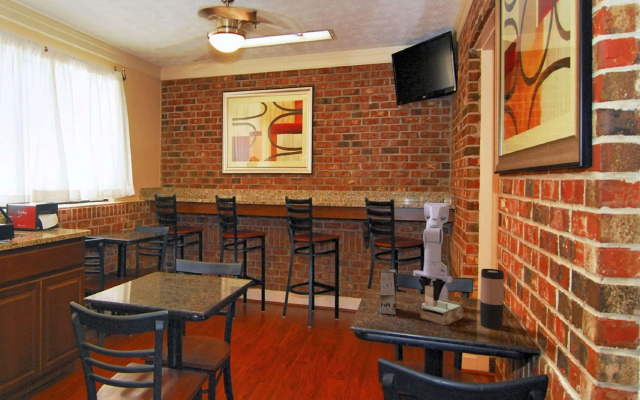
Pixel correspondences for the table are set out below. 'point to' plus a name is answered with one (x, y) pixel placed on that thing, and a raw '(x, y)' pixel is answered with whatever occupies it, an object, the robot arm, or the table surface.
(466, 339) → the table surface
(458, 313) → the wooden box
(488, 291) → the travel mug
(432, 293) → the wooden block
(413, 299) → the table surface
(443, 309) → the cabinet door
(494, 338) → the table surface
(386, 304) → the coffee box
